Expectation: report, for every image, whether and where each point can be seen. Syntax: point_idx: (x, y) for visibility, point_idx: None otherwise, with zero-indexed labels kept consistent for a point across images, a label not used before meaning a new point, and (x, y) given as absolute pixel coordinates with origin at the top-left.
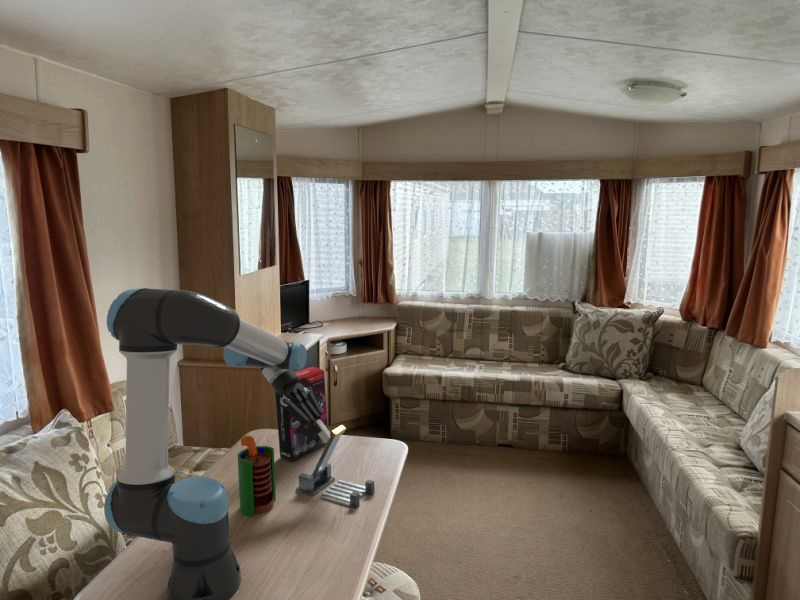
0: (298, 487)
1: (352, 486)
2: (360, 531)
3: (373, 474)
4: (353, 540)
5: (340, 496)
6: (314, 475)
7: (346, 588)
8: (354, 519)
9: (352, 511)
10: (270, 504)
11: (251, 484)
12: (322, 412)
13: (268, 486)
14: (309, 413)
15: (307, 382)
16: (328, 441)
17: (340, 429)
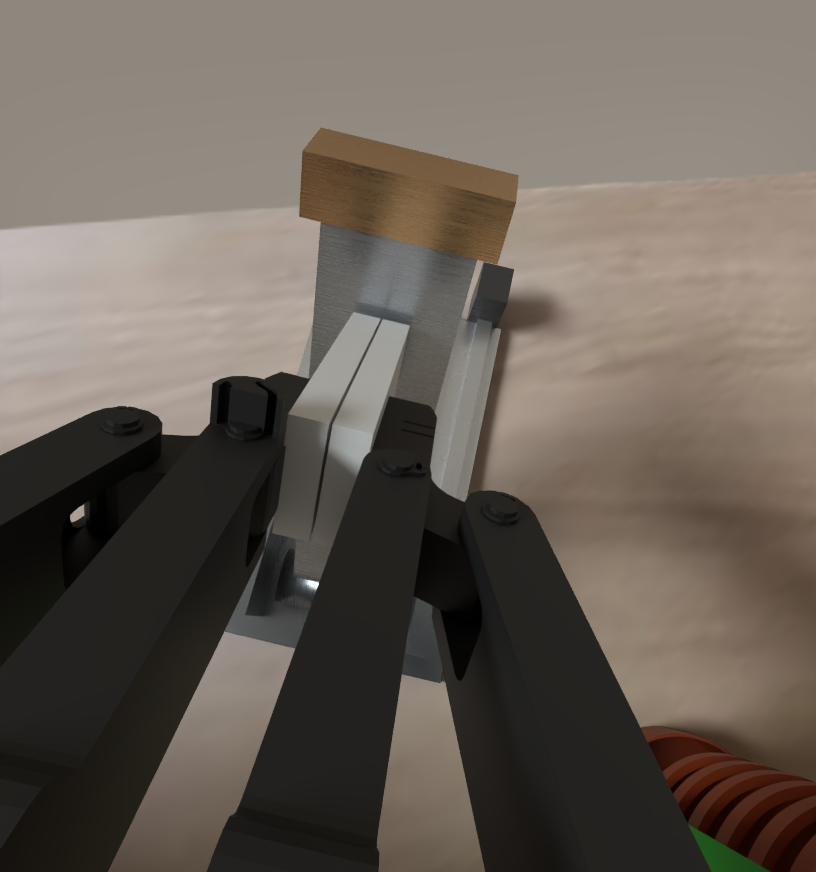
0: (418, 673)
1: None
2: (662, 236)
3: (144, 319)
4: (728, 243)
5: (443, 396)
6: None
7: None
8: (590, 283)
9: (532, 310)
10: (680, 732)
11: None
12: (115, 411)
13: (753, 763)
14: (371, 540)
15: None
16: (456, 330)
17: (399, 154)
